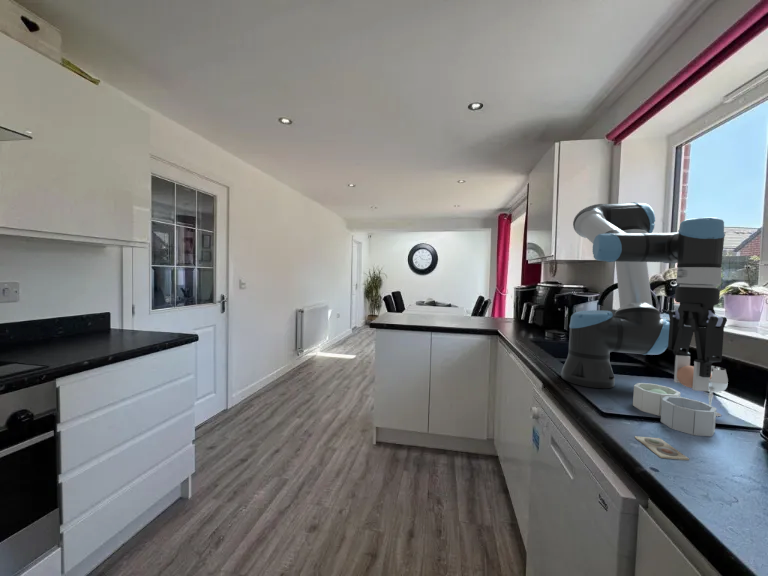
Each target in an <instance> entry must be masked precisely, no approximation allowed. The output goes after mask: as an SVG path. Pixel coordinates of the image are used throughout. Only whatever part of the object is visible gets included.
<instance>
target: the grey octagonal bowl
mask: <svg viewBox="0 0 768 576" xmlns="http://www.w3.org/2000/svg"><path fill="white" fill-rule="evenodd" d="M716 412H717V407H714V406H712V404H711V405H709V403H706V402H704V401H699V400H697V399H692V398H688V397H684V396H683V397H682V396H680V397H672V396H666V397H664V398H663V399H662V409H661V416H660V423H661V424H663V425H665V426H667V428H668V427H669V428H670V429H672V430H674V431H675V430H676V431H678V432H681V433H685V434H688V435H692V436H699V437H700V436H701V437H713V436H714V434H715V431H716V421H717V420H716V418H717V417H716Z"/></svg>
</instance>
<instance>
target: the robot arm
mask: <svg viewBox="0 0 768 576" xmlns="http://www.w3.org/2000/svg"><path fill="white" fill-rule="evenodd" d="M655 215H656V214H655V211H654V210H653V208H652V206H650V205H649V204H647V203H644V202H630V203H628V202H627V203H626V202H625V203H596V204H592V205H590V206H586V207H585V208H583V209H582V210H580V211H579V212H578V213H576V215H575V217H574V219H573V221H572V226H573V227H572V228H573V230H574V231H575V233H576V234H577V235H578V236H580V237H581V238H585V239H587V240H589V242H591V244H592V255H593V258H594V260H596V261H600V262H607V263H615V267H616V268H615V269H616V279H617V280H616V281H617V289H618V301H619V308H618V309H617V310H616V311H615V313H613V312H612V311H611V310H606V309H605V310H601V309H600V310H598V309H597V310H595V309H593V310H581V311H576V312H574V313H572V314H571V316H570V321H569V325H568V326H569V327H568V328H569V335H568V336H569V338H568V339H569V340H568V354H567V357H566V359H565V362H564V364H563V366H562V368H561V373H560V376H561V378H562V379H563V380H564V381H566V382H568V383H571V384H573V385H576V386H577V385H578V386H582V387H586V388H594V389H609V388H610V389H611V388H614V387H615V382H616V381H615V380H616V379H615V374H614V372H613V368H612V364H611V362H610V357H611V355H610V353H612V352H614V353H623V354H624V353H625V354H627V353H628V354H636V355H637V354H638V355H643V356H646V355H650V356H653V355H654V356H655V355H661V354H663V353H664V352H665V351H666V350H668V351H671V352H672V353H673V355H674V376H673V382H674V383H675V384H676V383H677V384H681V383H680V382H679V380H678V379H677V372H678V370H679V369H680V368H681V367H684V366H691V352H689V350H690V345H691V343H692V340H693V337H694V341H695V347H696V349H695V350H696V354H697V356H696V357H697V359H696V358H695V359H694V361H693V364H694V365H693V366H694V373H693V387H692V388H691V389H692V390H693V391H696V392H709V391H708V388H709V378H710V376H711V366H713V365H712V364H713V363H721V362H722V360H723V348H724V347H723V346H724V332H725V331H724V330H725V326H726V324H727V322H728V318H727V317H726V316H719V315H717V314H716V310H715V307H714V306H715V305H719V304H720V295H721V290H720V289H719V288H718V287H717V286H721V285H722V271H723V270H722V265H723V257H724V256H723V254H724V244H725V243H724V242H725V236H726V233H725V221H724V220H723V219H722V218H719V217H695V218H688V219H685V220H682V221H681V222H680V224H679V228H678V231H677V232H659V233H658V232H653V231H654V230H655V225H656V224H655V222H656V217H655ZM648 263H664V264H676V267H677V269H676V280H675V281H676V285H679V286H677V287H675V292H674V301H675V302H676V303H679V306H678V307H677V309H676V310H669V311H668V317H669V319H667V318H665V317H661V313H660V310H659V309H658V308H656V307H654V305H653V300H652V299H653V298H652V292H651V285H650V277H649V275H650V274H649V268H648ZM693 335H694V336H693Z"/></svg>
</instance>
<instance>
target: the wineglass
mask: <svg viewBox="0 0 768 576" xmlns="http://www.w3.org/2000/svg"><path fill="white" fill-rule="evenodd" d="M728 382H729V378H728V374H727V369H726V368H724V367H722V366H721V367H720V366H716V365H712V366H711V376H710V378H709V388H708V391H707V392H708V393H707V397H708V405H711V406H712V401H713V398H714V393H721V392H724V391H725V390H727V388H728V384H729V383H728ZM716 416H717V417H718V416H720V417H722V414H721V413H719V412H717V411H716ZM717 417H716V418H717ZM718 418H719V417H718Z"/></svg>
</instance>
